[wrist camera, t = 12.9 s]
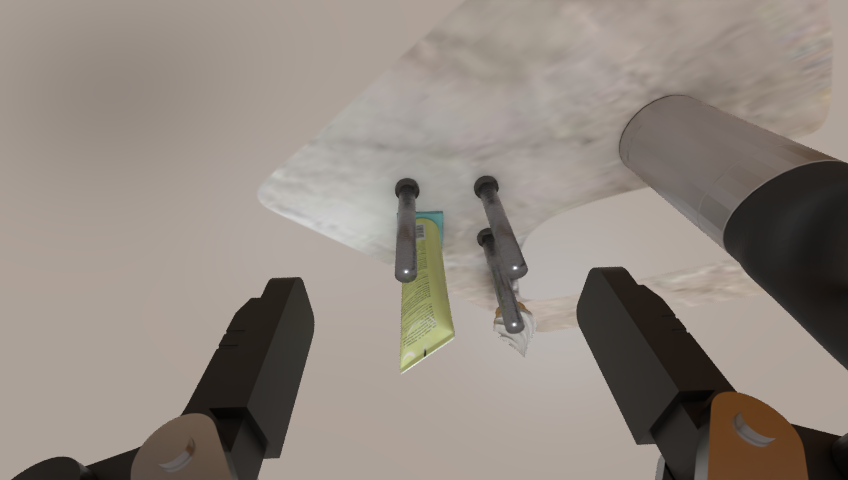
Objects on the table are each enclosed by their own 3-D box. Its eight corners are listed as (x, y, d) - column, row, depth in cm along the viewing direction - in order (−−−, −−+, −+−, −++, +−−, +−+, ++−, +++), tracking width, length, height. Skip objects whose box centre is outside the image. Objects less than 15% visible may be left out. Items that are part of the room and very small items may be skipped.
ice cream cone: (486, 289, 55) (507, 375, 43) (475, 265, 52) (495, 350, 40) (520, 278, 54) (552, 364, 42) (511, 253, 51) (543, 337, 39)
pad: (442, 211, 46) (442, 213, 46) (441, 246, 50) (442, 249, 49) (397, 212, 46) (397, 215, 46) (400, 248, 50) (399, 250, 49)
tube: (438, 249, 49) (452, 374, 34) (403, 250, 49) (400, 376, 33) (440, 215, 46) (455, 337, 30) (401, 216, 46) (397, 339, 30)
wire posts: (506, 175, 43) (547, 257, 30) (497, 244, 50) (527, 336, 37) (394, 178, 43) (387, 262, 30) (400, 248, 50) (396, 341, 37)
